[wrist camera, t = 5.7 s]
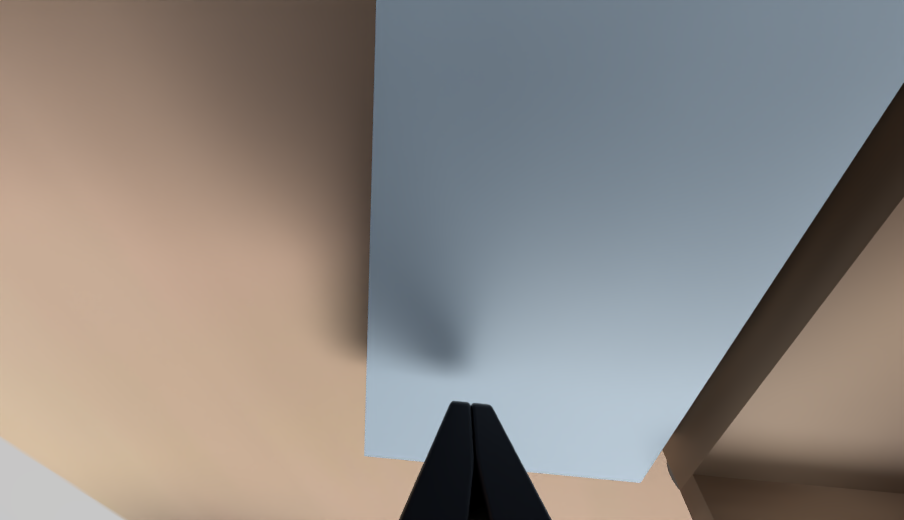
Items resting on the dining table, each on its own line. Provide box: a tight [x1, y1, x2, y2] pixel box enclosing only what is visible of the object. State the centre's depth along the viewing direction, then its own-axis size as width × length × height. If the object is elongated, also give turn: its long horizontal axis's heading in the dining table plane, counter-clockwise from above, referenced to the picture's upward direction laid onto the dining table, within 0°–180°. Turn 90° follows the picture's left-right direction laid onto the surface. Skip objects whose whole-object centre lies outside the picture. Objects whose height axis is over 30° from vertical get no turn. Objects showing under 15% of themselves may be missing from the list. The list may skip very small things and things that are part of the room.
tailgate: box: [364, 0, 904, 483], centre depth 8 cm, size 1×14×8 cm
